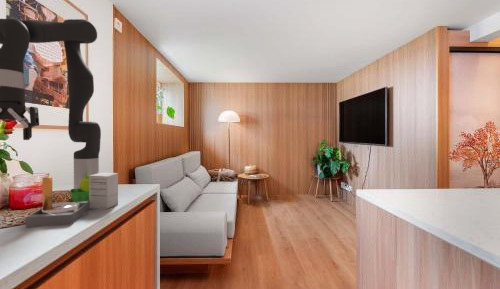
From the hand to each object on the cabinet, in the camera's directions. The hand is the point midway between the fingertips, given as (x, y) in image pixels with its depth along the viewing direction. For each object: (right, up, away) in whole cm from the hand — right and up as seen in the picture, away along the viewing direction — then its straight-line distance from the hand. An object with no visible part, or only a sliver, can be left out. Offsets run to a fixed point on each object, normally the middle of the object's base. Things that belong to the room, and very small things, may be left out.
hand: (9, 139), depth 76 cm
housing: (+11, -26, +7) cm, 29 cm away
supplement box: (+17, -26, +20) cm, 37 cm away
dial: (+11, -24, +7) cm, 27 cm away
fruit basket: (+7, -25, +26) cm, 37 cm away
